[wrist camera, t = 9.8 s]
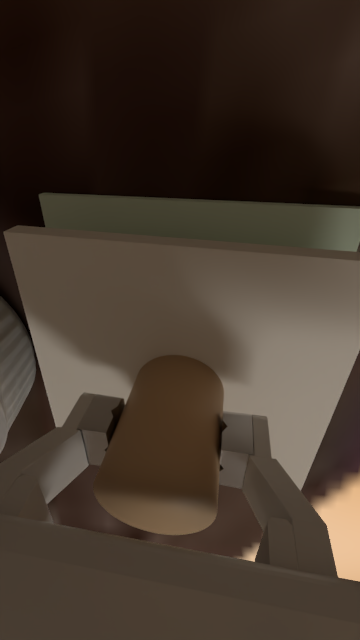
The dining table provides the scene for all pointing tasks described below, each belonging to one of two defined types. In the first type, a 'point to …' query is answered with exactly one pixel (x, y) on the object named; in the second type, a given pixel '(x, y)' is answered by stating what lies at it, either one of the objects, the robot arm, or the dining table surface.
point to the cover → (187, 353)
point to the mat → (208, 219)
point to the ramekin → (13, 367)
